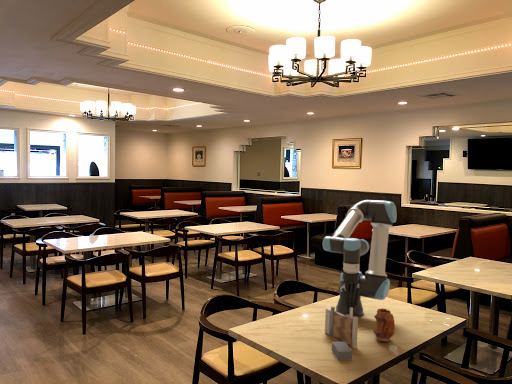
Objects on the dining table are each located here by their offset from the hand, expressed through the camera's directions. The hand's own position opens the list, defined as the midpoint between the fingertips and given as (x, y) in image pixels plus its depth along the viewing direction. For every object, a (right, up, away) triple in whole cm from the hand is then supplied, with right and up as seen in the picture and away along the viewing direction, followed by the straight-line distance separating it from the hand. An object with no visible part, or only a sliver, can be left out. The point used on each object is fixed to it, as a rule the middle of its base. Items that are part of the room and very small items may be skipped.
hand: (349, 320), depth 196 cm
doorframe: (-4, -9, +1) cm, 10 cm away
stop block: (-7, -11, -15) cm, 20 cm away
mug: (+17, -10, -1) cm, 20 cm away
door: (-3, -9, 0) cm, 10 cm away
